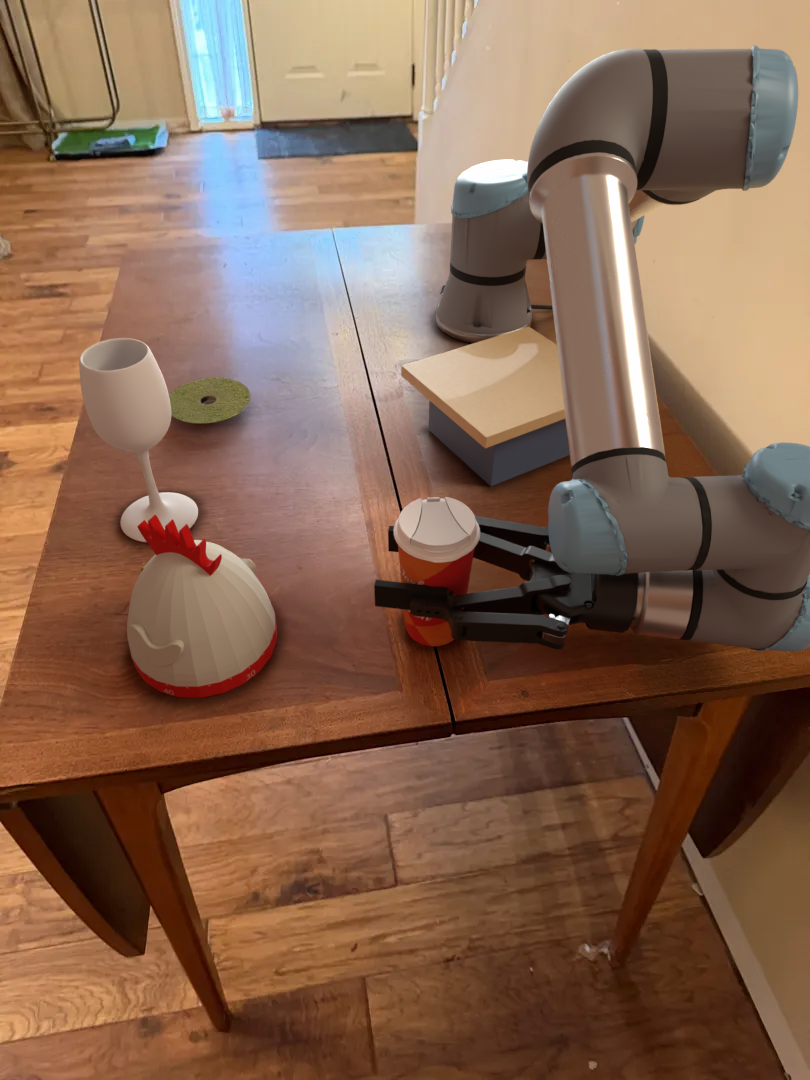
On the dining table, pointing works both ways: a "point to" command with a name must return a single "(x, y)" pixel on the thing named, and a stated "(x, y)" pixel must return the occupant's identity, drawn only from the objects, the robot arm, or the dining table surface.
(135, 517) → the wineglass
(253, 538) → the dining table surface
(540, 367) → the stand
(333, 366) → the dining table surface
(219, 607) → the kitchen timer
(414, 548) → the paper cup
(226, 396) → the green disc with hole
